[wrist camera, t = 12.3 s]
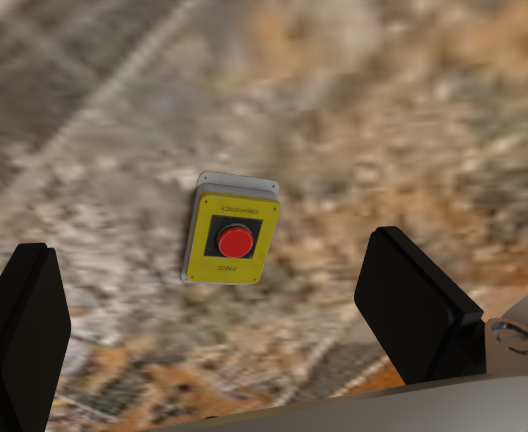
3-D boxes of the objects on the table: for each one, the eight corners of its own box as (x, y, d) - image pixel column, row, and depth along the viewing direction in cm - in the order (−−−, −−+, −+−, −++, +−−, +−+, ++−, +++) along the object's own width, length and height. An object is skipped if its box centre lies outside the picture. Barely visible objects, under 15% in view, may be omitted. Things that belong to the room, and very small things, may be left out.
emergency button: (291, 196, 39) (258, 305, 46) (280, 179, 43) (250, 282, 49) (203, 184, 36) (181, 303, 43) (199, 167, 40) (179, 279, 46)
